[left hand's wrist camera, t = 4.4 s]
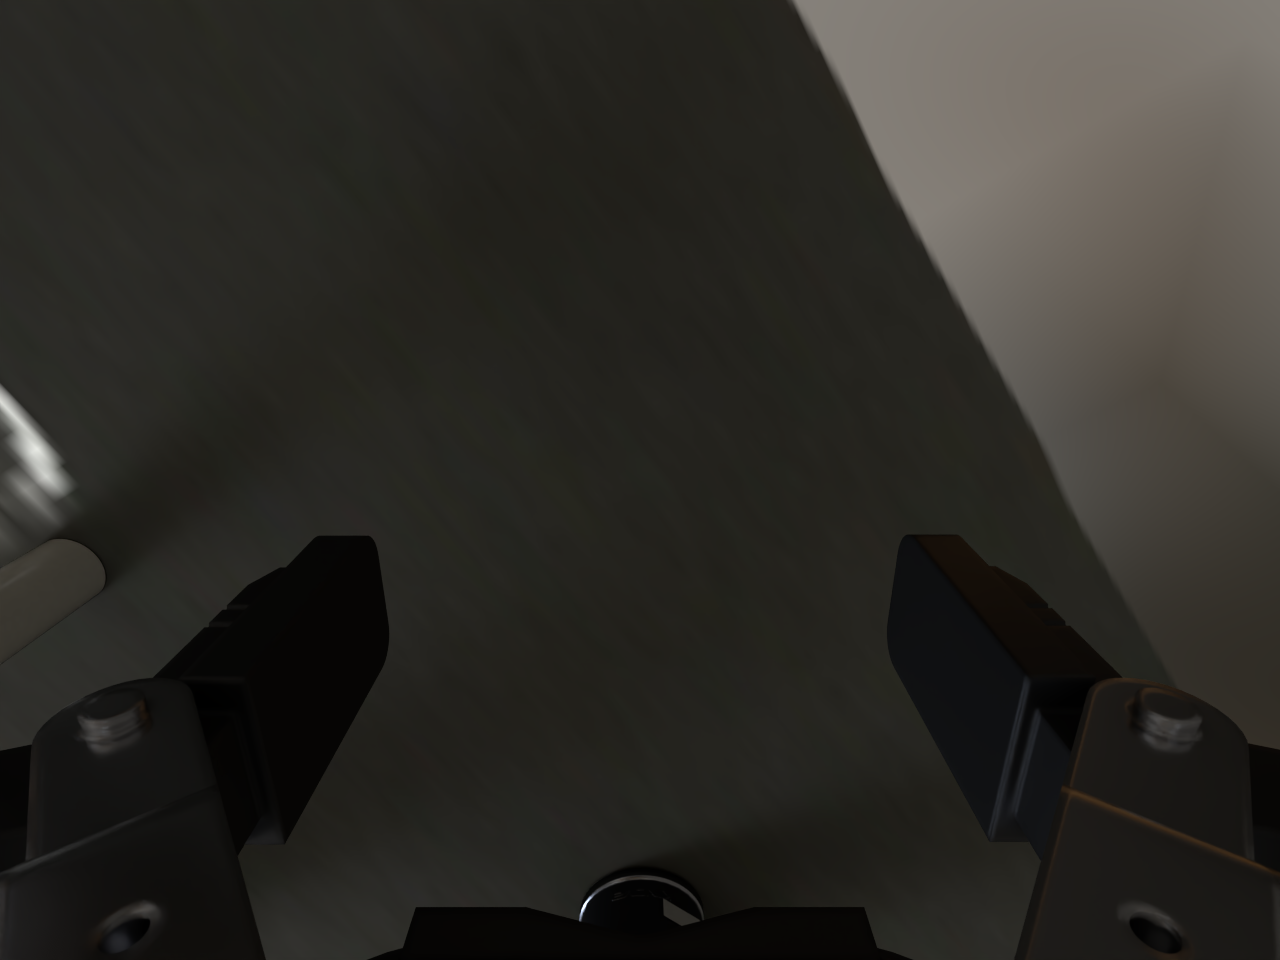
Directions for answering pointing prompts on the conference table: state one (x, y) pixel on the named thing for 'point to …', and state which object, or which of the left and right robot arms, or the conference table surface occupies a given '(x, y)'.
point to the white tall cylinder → (45, 591)
